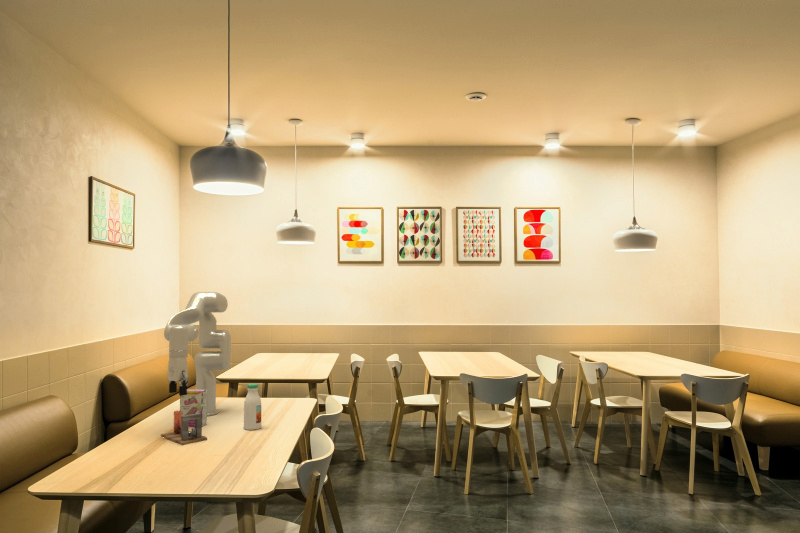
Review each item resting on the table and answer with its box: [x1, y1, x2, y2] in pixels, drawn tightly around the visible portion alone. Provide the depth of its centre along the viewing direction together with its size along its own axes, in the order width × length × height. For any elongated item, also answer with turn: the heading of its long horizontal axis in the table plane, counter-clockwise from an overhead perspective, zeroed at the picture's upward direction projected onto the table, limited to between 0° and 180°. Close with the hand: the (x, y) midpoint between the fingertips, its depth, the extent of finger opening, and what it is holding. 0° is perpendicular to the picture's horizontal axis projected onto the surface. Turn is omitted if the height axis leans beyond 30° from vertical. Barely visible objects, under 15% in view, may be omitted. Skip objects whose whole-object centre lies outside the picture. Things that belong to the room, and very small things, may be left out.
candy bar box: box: [179, 388, 208, 428], centre depth 259 cm, size 11×5×16 cm, turn 84°
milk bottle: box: [243, 383, 262, 431], centre depth 254 cm, size 8×8×20 cm
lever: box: [173, 410, 196, 438], centre depth 237 cm, size 17×3×9 cm, turn 46°
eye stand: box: [160, 413, 208, 446], centre depth 237 cm, size 20×11×11 cm, turn 46°
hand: (177, 393), depth 242 cm, fingers open, 9 cm apart
